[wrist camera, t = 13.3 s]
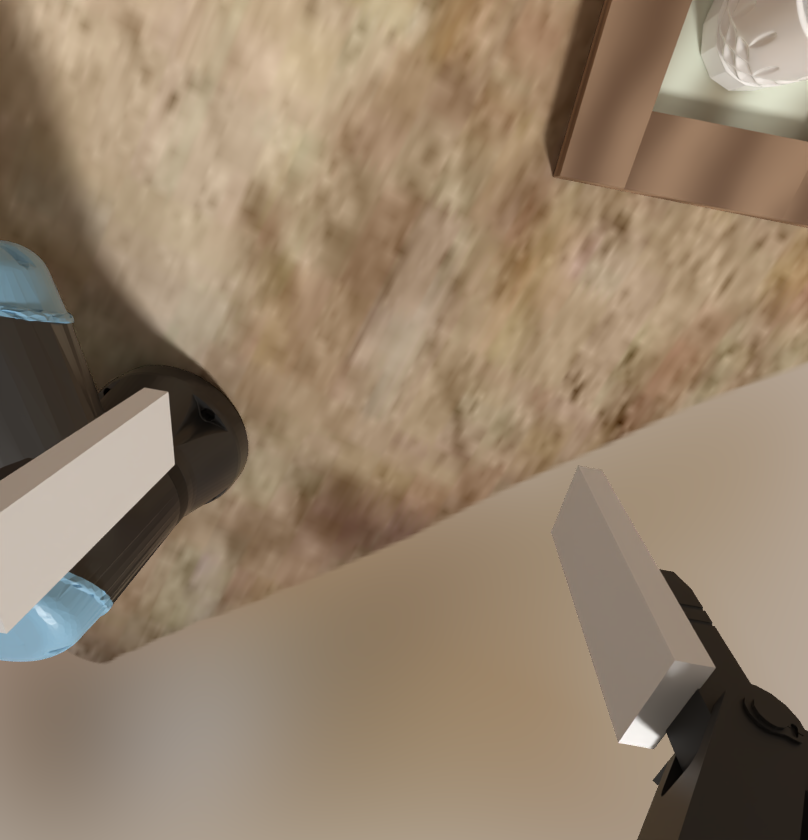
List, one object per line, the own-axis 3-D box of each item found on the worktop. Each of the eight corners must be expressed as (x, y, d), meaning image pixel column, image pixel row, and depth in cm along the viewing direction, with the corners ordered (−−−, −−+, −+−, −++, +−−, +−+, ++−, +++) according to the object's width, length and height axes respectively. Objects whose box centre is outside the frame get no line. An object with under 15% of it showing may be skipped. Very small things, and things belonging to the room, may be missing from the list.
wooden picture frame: (552, 177, 33) (559, 175, 31) (676, -246, 24) (698, -289, 22) (820, 230, 33) (846, 232, 31) (1048, -174, 24) (1107, -210, 21)
